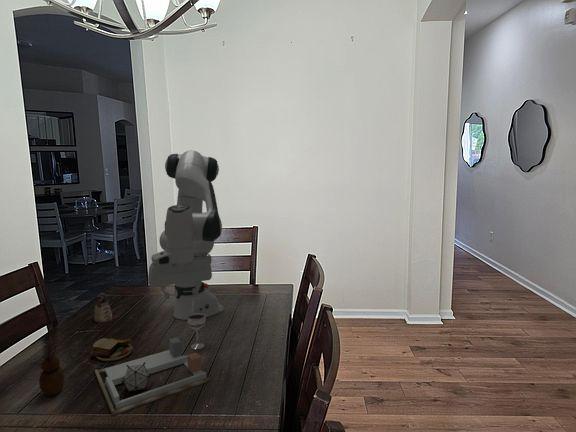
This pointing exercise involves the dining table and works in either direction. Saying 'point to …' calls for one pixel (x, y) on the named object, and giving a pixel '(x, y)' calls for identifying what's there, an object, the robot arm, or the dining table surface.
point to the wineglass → (196, 326)
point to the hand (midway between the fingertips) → (181, 296)
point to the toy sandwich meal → (111, 349)
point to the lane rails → (143, 400)
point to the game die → (136, 378)
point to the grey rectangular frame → (189, 361)
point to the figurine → (102, 309)
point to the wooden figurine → (51, 375)
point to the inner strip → (149, 359)
